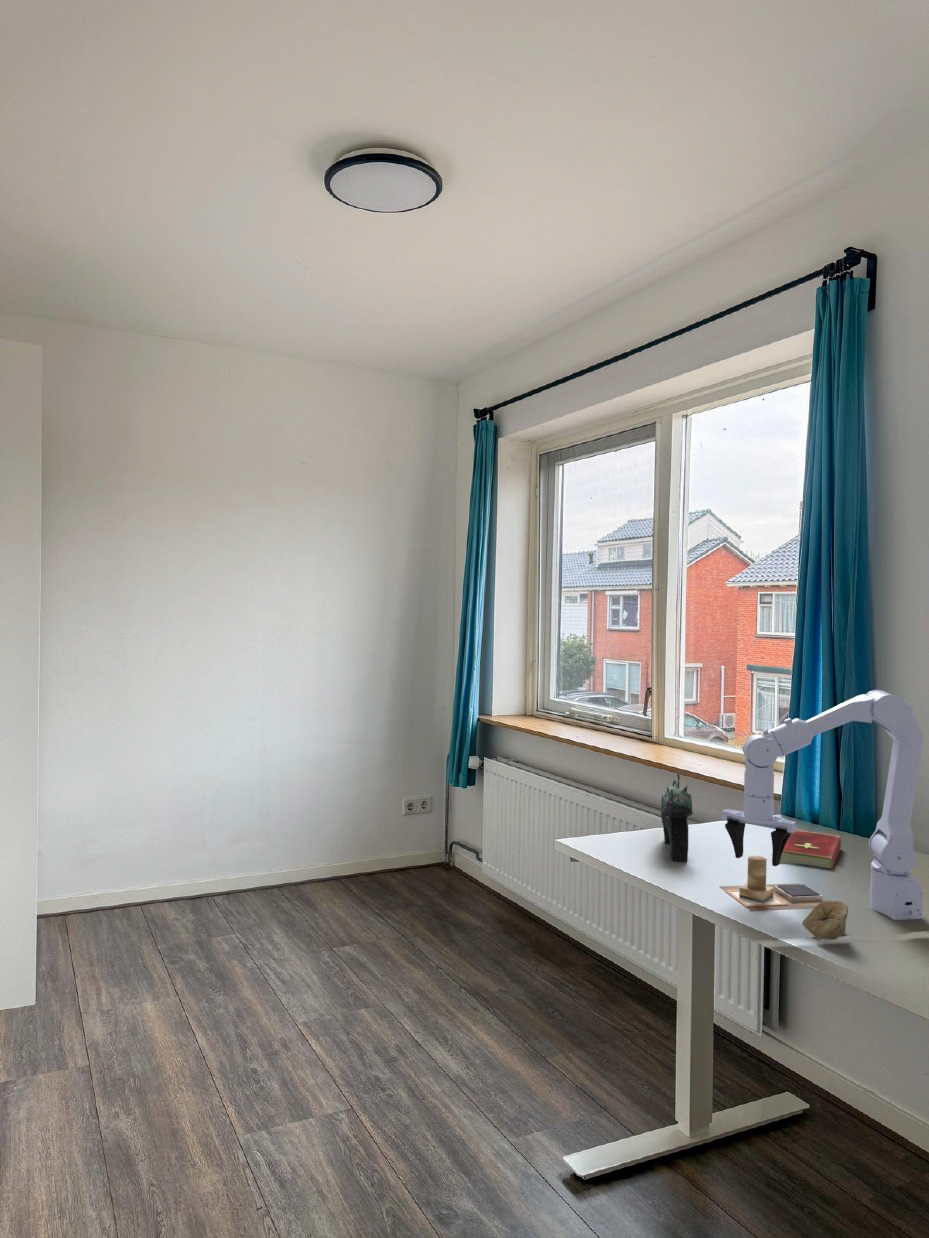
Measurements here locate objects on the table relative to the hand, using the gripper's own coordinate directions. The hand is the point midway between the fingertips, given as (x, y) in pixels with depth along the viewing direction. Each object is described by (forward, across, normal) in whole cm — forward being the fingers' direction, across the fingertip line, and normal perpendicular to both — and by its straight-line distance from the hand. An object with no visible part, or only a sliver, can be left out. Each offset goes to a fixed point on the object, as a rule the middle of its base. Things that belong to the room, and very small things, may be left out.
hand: (757, 860), depth 175 cm
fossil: (+9, -16, +8) cm, 20 cm away
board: (+9, -2, -4) cm, 10 cm away
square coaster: (+8, 0, 0) cm, 8 cm away
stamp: (+8, 0, 0) cm, 8 cm away
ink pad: (+8, -6, -8) cm, 12 cm away
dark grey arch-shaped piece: (+9, +29, -21) cm, 37 cm away
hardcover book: (+9, +3, -40) cm, 41 cm away
